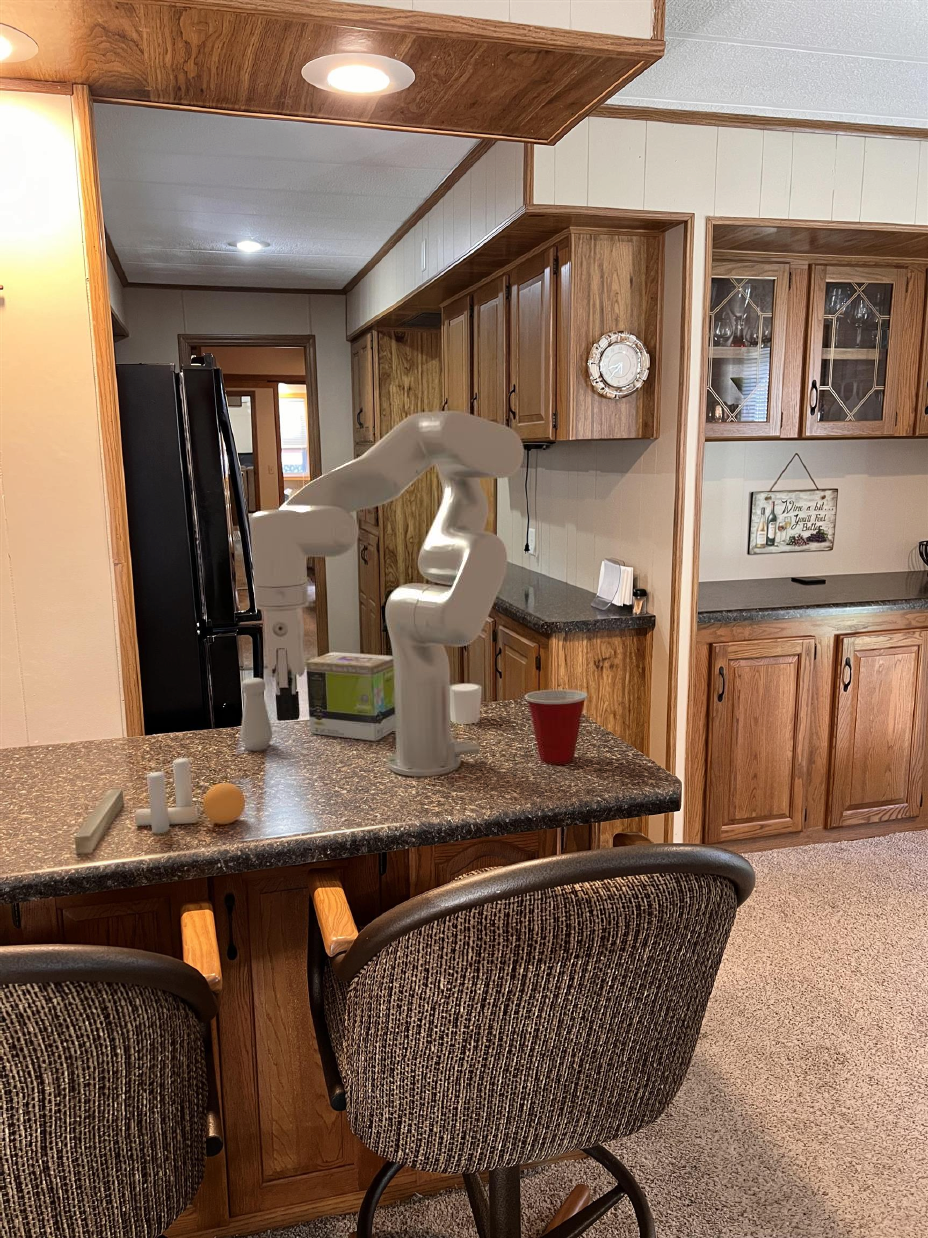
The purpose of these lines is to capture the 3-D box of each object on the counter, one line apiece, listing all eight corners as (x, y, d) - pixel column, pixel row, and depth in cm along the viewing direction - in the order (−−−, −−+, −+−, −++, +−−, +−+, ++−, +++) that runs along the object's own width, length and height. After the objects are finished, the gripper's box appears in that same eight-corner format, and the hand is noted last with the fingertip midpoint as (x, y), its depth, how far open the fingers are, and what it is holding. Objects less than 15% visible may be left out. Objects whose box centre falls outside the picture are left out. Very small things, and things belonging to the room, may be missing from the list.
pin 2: (194, 811, 141) (190, 758, 140) (192, 817, 139) (187, 763, 137) (178, 812, 141) (174, 759, 139) (175, 818, 139) (171, 764, 137)
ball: (196, 797, 138) (230, 816, 140) (193, 820, 133) (228, 839, 135) (219, 768, 137) (253, 787, 139) (217, 789, 132) (252, 809, 134)
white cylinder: (447, 716, 188) (446, 683, 187) (480, 715, 189) (479, 682, 187) (449, 726, 181) (448, 692, 180) (484, 725, 182) (483, 690, 181)
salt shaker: (265, 753, 168) (261, 683, 165) (236, 751, 169) (231, 683, 166) (278, 743, 173) (274, 676, 171) (249, 741, 174) (245, 675, 172)
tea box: (401, 728, 181) (398, 654, 178) (375, 743, 172) (372, 666, 169) (336, 720, 187) (332, 649, 185) (308, 734, 178) (304, 660, 176)
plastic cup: (571, 746, 168) (571, 682, 166) (598, 765, 158) (598, 697, 155) (515, 753, 164) (515, 688, 162) (539, 773, 154) (539, 704, 152)
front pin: (196, 803, 138) (138, 806, 137) (193, 811, 135) (134, 814, 135) (198, 818, 138) (140, 821, 138) (194, 826, 136) (136, 828, 135)
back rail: (123, 804, 145) (122, 789, 144) (91, 853, 127) (89, 836, 127) (110, 804, 144) (109, 789, 144) (76, 854, 127) (74, 837, 126)
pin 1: (171, 826, 136) (165, 771, 134) (167, 833, 133) (162, 777, 132) (154, 827, 135) (148, 772, 134) (150, 834, 133) (145, 778, 131)
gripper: (304, 603, 126) (311, 732, 129) (310, 587, 140) (316, 704, 144) (248, 605, 125) (257, 735, 128) (260, 589, 140) (267, 706, 143)
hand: (288, 718), depth 136 cm, fingers closed
